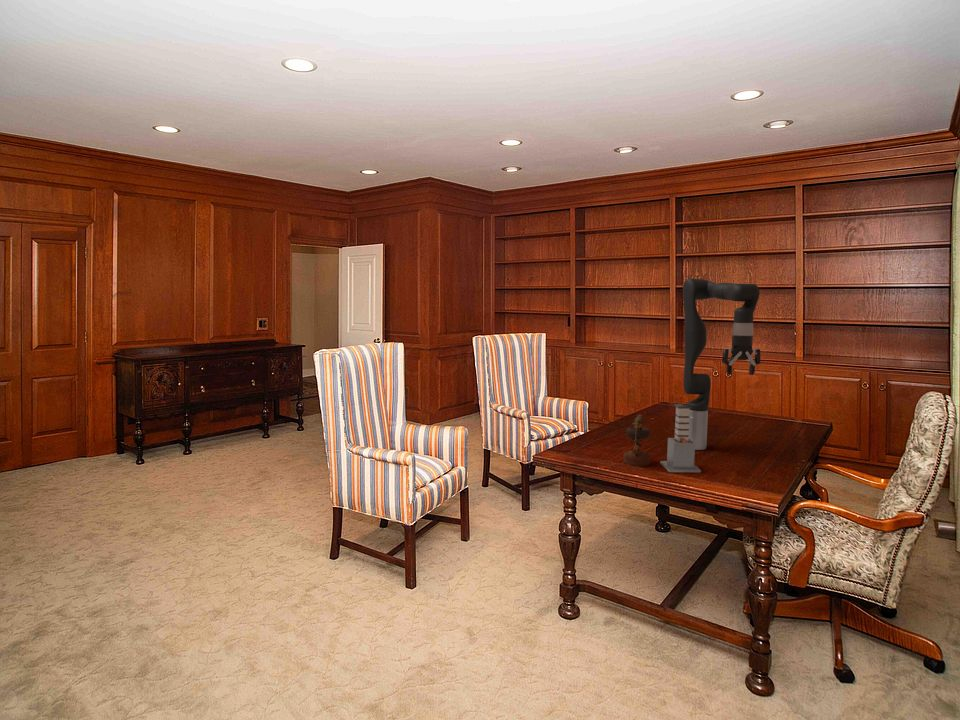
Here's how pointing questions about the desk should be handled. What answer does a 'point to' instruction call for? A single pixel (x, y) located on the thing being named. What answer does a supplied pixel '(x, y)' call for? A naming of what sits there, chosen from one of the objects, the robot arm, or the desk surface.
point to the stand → (680, 456)
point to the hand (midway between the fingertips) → (740, 374)
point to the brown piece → (637, 444)
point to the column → (682, 422)
